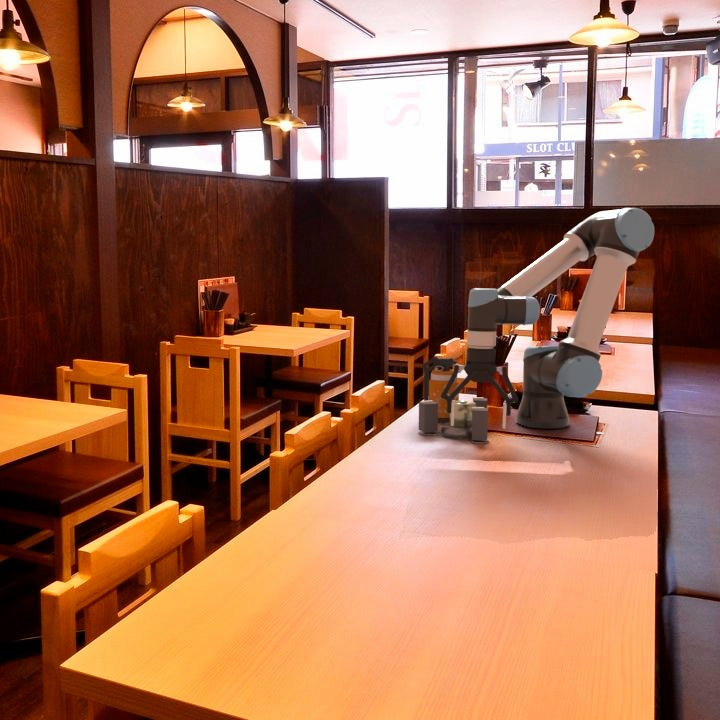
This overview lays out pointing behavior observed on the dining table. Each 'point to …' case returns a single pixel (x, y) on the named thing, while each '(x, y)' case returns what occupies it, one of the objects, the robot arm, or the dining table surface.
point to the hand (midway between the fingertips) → (478, 426)
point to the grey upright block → (428, 416)
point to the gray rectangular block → (479, 423)
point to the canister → (439, 384)
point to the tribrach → (459, 423)
